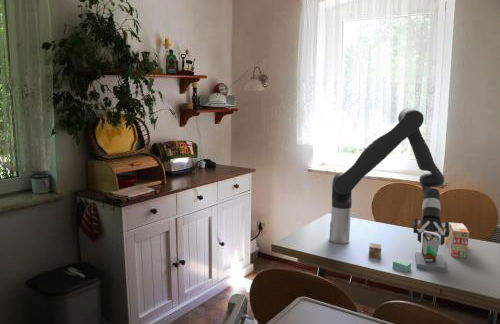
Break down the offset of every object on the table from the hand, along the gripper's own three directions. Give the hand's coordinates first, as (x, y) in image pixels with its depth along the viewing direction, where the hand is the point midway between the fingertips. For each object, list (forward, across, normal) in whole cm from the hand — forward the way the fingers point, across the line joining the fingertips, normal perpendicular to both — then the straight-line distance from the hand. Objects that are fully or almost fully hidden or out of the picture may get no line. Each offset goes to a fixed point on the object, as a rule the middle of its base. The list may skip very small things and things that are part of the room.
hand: (430, 243), depth 177 cm
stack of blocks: (-9, +12, +21) cm, 26 cm away
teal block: (+15, -11, -2) cm, 19 cm away
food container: (+6, 0, +3) cm, 7 cm away
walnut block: (+8, -22, +4) cm, 24 cm away
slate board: (+8, 0, +4) cm, 9 cm away
